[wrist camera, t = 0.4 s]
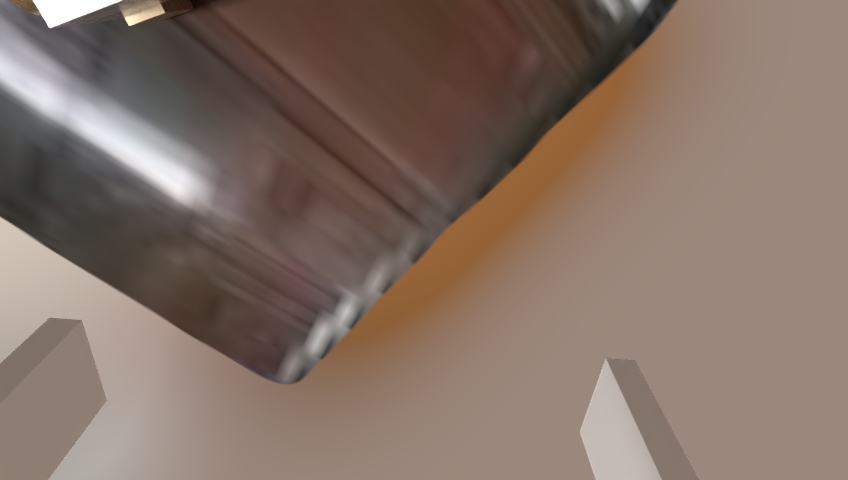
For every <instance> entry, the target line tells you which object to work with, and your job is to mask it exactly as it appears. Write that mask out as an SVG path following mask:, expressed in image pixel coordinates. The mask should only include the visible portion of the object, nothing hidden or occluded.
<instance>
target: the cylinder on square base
mask: <svg viewBox="0 0 848 480" xmlns="http://www.w3.org/2000/svg"><path fill="white" fill-rule="evenodd" d="M11 1H13V2H14V3H15V4H17V5H18V6H19V7H21V8H22V9H24V10H26V11H28V12H30V13H33V14H36V15H41V16H42V14H41V13H40V11H39V9H38V8H37V6H36V5H35V3H34V1H33V0H11Z"/></svg>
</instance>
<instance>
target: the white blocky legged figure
mask: <svg viewBox="0 0 848 480" xmlns="http://www.w3.org/2000/svg"><path fill="white" fill-rule="evenodd" d="M33 1H34V3H35V5H36V6H37V8H38V9H39V11H40V13H41V14H42V16H43V18H44V19H45V21H46V22H47V24H48V26H49V27H50V28H55V27H62V26H70V25H77V24H85V23H92V22H100V21H107V20H115V19H121V18H124V17H125V19H126V21H127V23H128V25H129V26H133V25H139V24H145V23H152V22H158V21H163V20H166V19H168V18H171V17H174V16H176V15H179V14H182V13H184V12H187V11H190V10H193V9H194V7H193V5H192V3H191V1H190V0H33Z"/></svg>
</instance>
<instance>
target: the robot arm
mask: <svg viewBox="0 0 848 480" xmlns="http://www.w3.org/2000/svg"><path fill="white" fill-rule="evenodd" d="M105 402H106V397H105V394H104V390H103V387H102V384H101V381H100V378H99V374H98V371H97V368H96V365H95V361H94V358H93V355H92V352H91V349H90V345H89V342H88V339H87V336H86V333H85V329H84V326H83V323H82V320H71V319H58V318H49V319H48V320H47V321H46V322H45V323H44V324H43V325H42V326H40V327H39V328H38V329H37V330H36V331H35V332H34V333H33V334H32V335H31V336H30V337H29V338H28V339H27V340H25V341H24V342H23V343H22V344H21V345H20V346H19V347H18V348H17V349H16V350H15V351H13V352H12V353H11V354H10V355H9V356H8V357H7V358H6V359H5V360H4V361H3V362H2V363H1V364H0V480H48V479H49V477H50V476H51V475H52V473H53V472H54V471H55V469H56V468H57V467H58V465H59V464H60V463H61V461H62V460H63V458H64V457H65V456H66V454H67V453H68V452H69V450H70V449H71V448H72V446H73V445H74V444H75V442H76V441H77V440H78V438H79V437H80V436H81V434H82V433H83V432H84V430H85V429H86V427H87V426H88V425H89V423H90V422H91V421H92V419H93V418H94V417H95V415H96V414H97V413H98V411H99V410H100V409H101V407H102V406H103V405H104V403H105ZM580 434H581V437H582V440H583V443H584V446H585V449H586V452H587V455H588V458H589V461H590V464H591V467H592V470H593V473H594V476H595V479H596V480H699V479H698V477H697V476H696V474H695V472H694V470H693V468H692V466H691V464H690V462H689V460H688V459H687V457H686V455H685V453H684V451H683V449H682V447H681V446H680V444H679V442H678V440H677V438H676V436H675V434H674V432H673V431H672V429H671V427H670V425H669V423H668V421H667V419H666V417H665V415H664V414H663V412H662V410H661V408H660V406H659V404H658V402H657V401H656V399H655V397H654V395H653V393H652V391H651V389H650V387H649V385H648V384H647V382H646V380H645V378H644V376H643V374H642V373H641V371H640V369H639V367H638V365H637V363H636V361H635V360H622V359H609V358H606V359H605V363H604V365H603V368H602V371H601V374H600V376H599V379H598V382H597V385H596V388H595V391H594V393H593V396H592V399H591V402H590V405H589V407H588V410H587V413H586V416H585V419H584V421H583V424H582V427H581V430H580Z"/></svg>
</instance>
